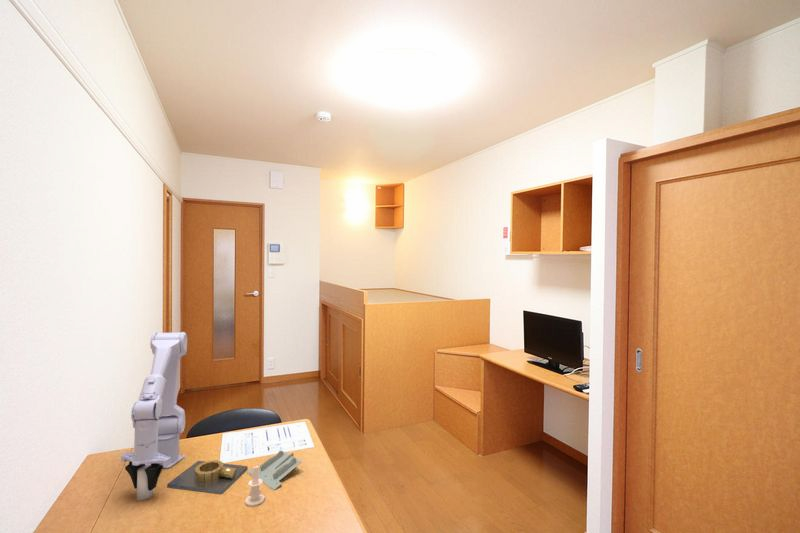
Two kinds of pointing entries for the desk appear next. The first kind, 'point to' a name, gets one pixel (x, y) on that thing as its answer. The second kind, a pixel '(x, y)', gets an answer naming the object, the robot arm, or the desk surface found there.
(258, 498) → the beige turned upright piece
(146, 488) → the white rounded block
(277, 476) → the metal bracket
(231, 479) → the fitting plate
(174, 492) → the desk surface
